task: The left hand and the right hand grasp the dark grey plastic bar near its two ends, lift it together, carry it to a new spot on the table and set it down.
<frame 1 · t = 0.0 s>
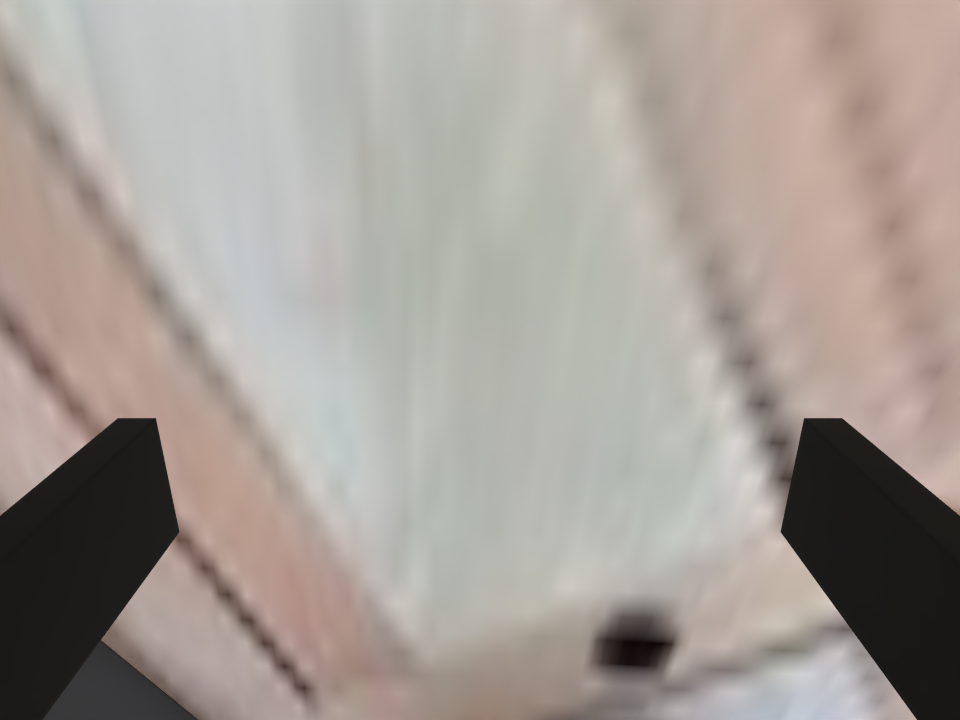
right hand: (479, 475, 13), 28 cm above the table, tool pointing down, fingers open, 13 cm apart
bar: (114, 679, 52), on the table
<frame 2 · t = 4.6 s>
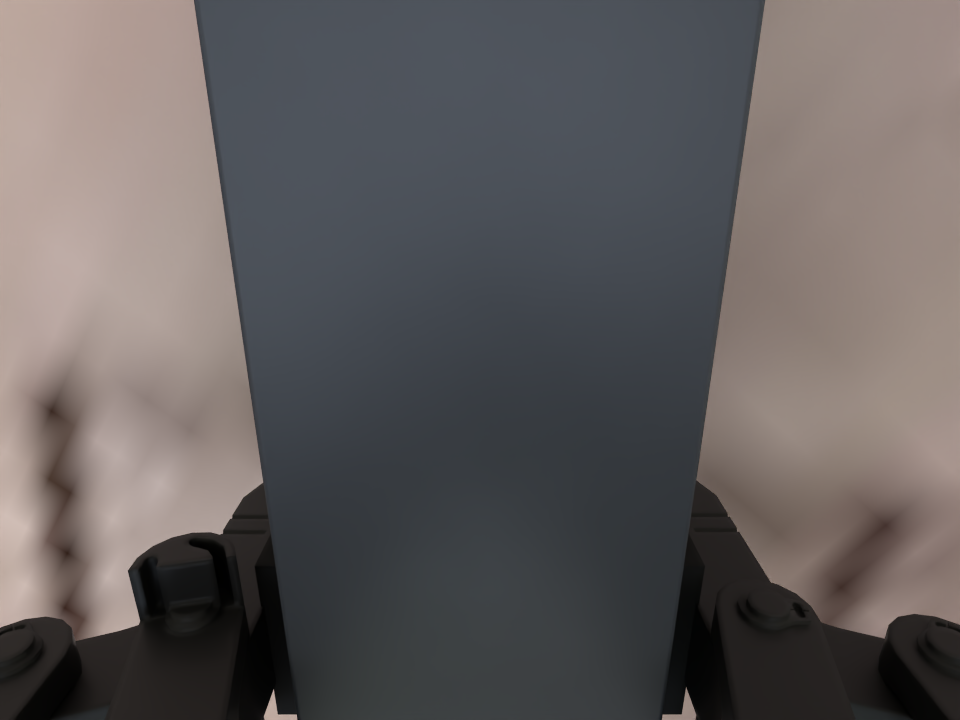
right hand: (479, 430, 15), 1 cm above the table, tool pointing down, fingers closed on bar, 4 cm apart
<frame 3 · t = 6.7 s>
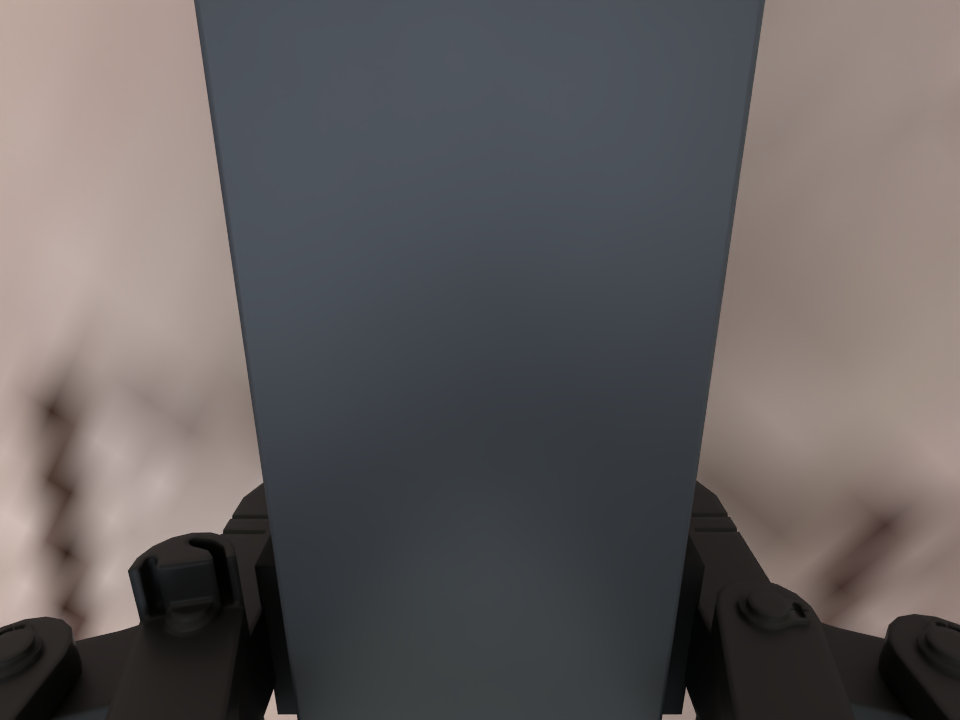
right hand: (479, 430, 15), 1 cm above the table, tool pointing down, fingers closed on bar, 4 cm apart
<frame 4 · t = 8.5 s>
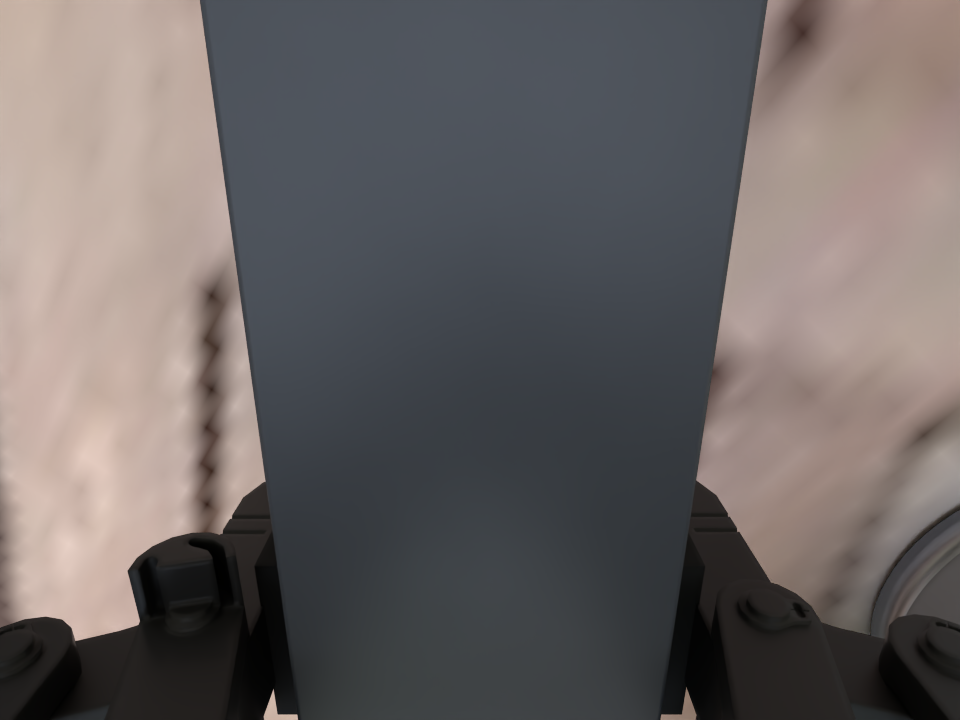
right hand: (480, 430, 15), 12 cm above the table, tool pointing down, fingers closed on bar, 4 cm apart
when the left hand's fingers open (2 cm above the table, at t = 12.1 s): bar drops 1 cm, on the table.
when the right hand's fingers open (2 cm above the table, at t = 12.2 s): bar drops 1 cm, on the table.
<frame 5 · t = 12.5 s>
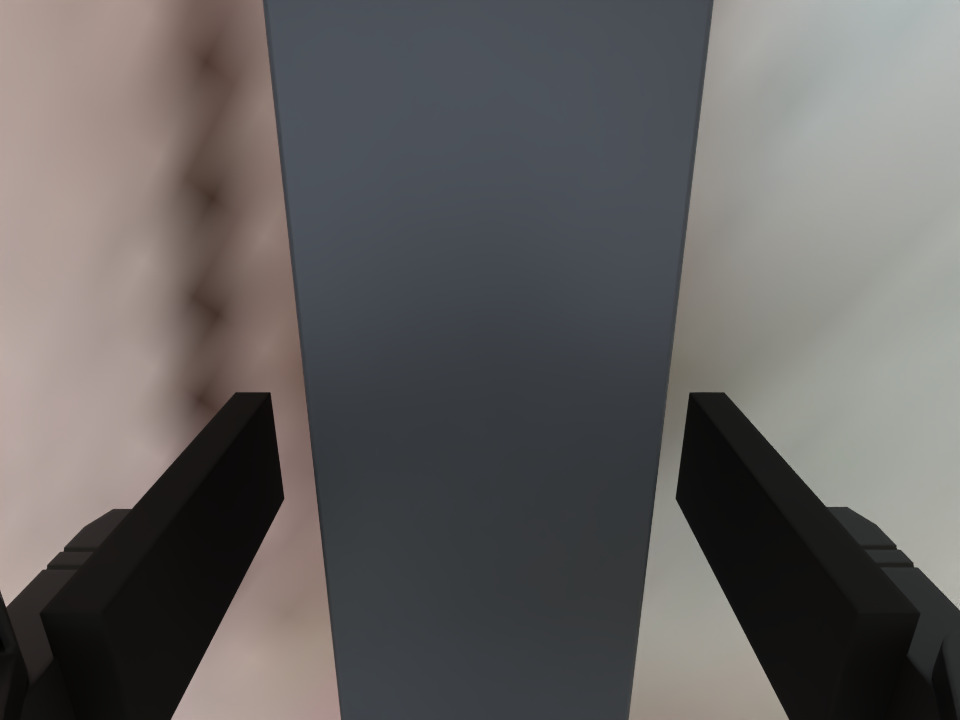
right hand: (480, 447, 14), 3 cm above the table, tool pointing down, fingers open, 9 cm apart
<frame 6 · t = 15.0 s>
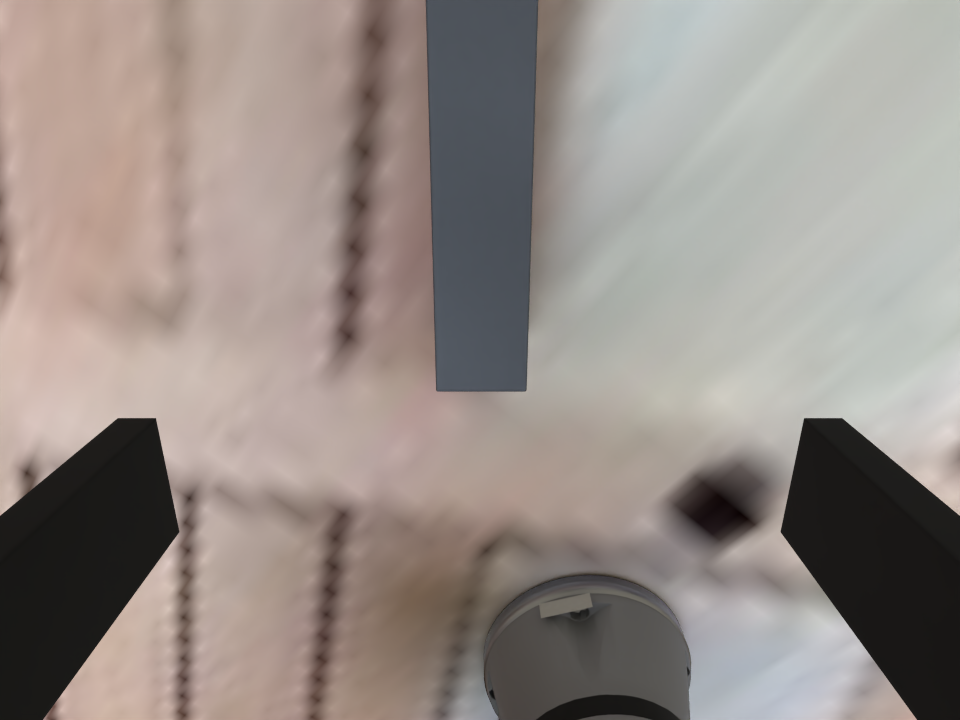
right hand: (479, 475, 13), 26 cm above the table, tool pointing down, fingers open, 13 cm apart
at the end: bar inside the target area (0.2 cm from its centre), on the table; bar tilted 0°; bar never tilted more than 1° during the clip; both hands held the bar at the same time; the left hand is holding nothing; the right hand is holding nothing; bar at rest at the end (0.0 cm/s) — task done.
